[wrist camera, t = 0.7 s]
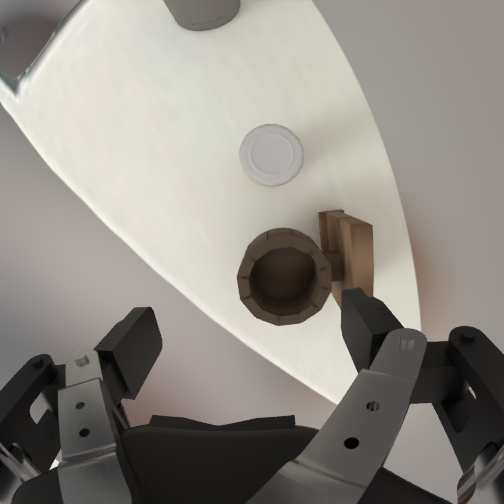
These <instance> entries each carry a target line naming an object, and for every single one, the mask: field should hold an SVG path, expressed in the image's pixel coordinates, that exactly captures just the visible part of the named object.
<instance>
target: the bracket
mask: <svg viewBox="0 0 504 504" xmlns="http://www.w3.org/2000/svg"><path fill="white" fill-rule="evenodd" d="M318 213H319V224H320V235H321V248H322V252H321V250H320V249H319V248H318V246H317V245H316V244H315V242H314V241H313V240H312V239H311V238H310V237H309V236H307V235H305V234H304V233H302V232H300V231H298V230H295V229H291V228H275V229H271V230H268V231H266V232H264V233H262V234H260V235H259V236H258V237H256V238H255V239H254V240H253V241H252V242H251V243H250V244H249V246H248V248H247V250H246V252H245V255H244V258H243V260H242V262H241V265H240V268H239V271H238V274H237V282H238V288H239V295H240V299H241V301H242V302H243V304H244V305H245V306H246V307H247V308H248V310H249V311H250V312H251V313H252V314H253V315H254V317H256V318H258V319H260V320H263V321H266V322H268V323H271V324H274V325H276V326H277V325H278V326H281V325H290V324H299V323H302V322H304V321H305V320H307V319H308V318H310V317H311V316H313V315H314V314H316V313H317V312H319V311H320V309H322V307H323V305H324V304H325V302H326V300H327V298H328V296H329V294H330V292H331V293H332V295H333V297H334V298H335V300H336V302H337V304H338V306H339V307H340V309H341V293H342V290H344V289H351V288H358V287H360V288H361V289H362V290H363V291H364V293H365V294H366V295H367V296H368V298H369V297H373V283H374V260H373V228H372V225H371V224H369V223H366V222H364V221H361V220H359V219H357V218H354V217H352V216H349V215H347V214H344V210H336V211H326V212H318Z"/></svg>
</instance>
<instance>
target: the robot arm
mask: <svg viewBox="0 0 504 504" xmlns="http://www.w3.org/2000/svg"><path fill="white" fill-rule="evenodd" d="M163 1H164V3H165V4H166V6H167V7H168V9H169V11H170V12H171V14H172V15H173V17H174V19H175V20H176V22H177V23H178V24H179V25H180V26H182V27H183V28H186V29H188V30H194V31H203V30H210V29H213V28H217V27H219V26H221V25H224V24H225V23H227V22H229V21H230V20H231V19H232V18H233V17H234V16H235V15H236V14H237V12H238V10H239V7H240V1H239V0H163ZM341 331H342V336H343V339H344V341H345V343H346V346H347V348H348V350H349V353H350V355H351V357H352V360H353V362H354V365H355V367H356V369H357V372H358V375H357V377H356V379H355V380H354V382H353V383H352V385H351V386H350V388H349V389H348V391H347V393H346V394H345V396H344V397H343V399H342V400H341V401H340V403H339V404H338V406H337V407H336V409H335V410H334V412H333V413H332V415H331V416H330V417H329V418H328V420H327V421H326V423H325V424H324V425H323V427H322V428H321V429H320V430H319V429H315V428H311V427H306V426H298V425H295V416H294V415H291V416H280V417H266V418H255V419H250V420H246V421H242V422H236V423H232V424H226V425H220V426H217V425H212V424H207V423H203V422H198V421H195V420H191V419H187V418H183V417H182V418H181V417H170V416H158V415H152V418H151V420H150V422H149V424H146V425H141V426H136V427H131V425H130V422H129V420H128V417H127V414H126V412H125V409H124V406H123V405H122V403H121V400H122V398H125V399H132V400H135V398H136V396H137V394H138V392H139V391H140V389H141V387H142V385H143V383H144V381H145V380H146V378H147V376H148V374H149V372H150V370H151V369H152V367H153V365H154V363H155V361H156V360H157V358H158V356H159V354H160V352H161V350H162V337H161V334H160V331H159V328H158V324H157V321H156V318H155V314H154V311H153V309H152V308H151V307H135V308H133V309H132V310H131V312H130V313H129V314H128V315H127V316H126V317H125V318H124V319H123V320H122V321H120V322H119V323H117V324H116V325H115V326H114V327H113V328H112V329H111V331H109V333H108V334H107V336H105V337H104V338H103V339H102V340H101V342H99V344H98V345H97V346H96V347H95V348H94V349H93V350H92V349H85V350H80V351H78V352H76V353H74V354H72V355H71V356H70V357H69V358H68V359H67V361H66V364H63V365H55V364H54V362H53V360H52V358H51V356H50V355H47V354H41V355H38V356H35V357H33V358H31V359H30V360H29V361H28V362H27V363H26V364H25V365H24V366H23V367H22V368H21V369H20V370H19V371H18V372H17V373H16V374H15V375H14V377H13V378H12V379H11V380H10V381H9V382H8V383H7V384H6V385H5V386H4V387H3V389H2V390H1V391H0V504H452V503H451V502H449V501H447V500H444V499H443V498H441V497H438V496H436V495H434V494H432V493H430V492H428V491H426V490H424V489H422V488H420V487H418V486H416V485H414V484H412V483H411V482H409V481H407V480H405V479H403V478H401V477H400V476H398V475H396V474H394V473H392V472H391V471H389V470H387V469H386V468H384V467H383V466H384V464H385V462H386V460H387V457H388V455H389V453H390V451H391V449H392V447H393V445H394V442H395V440H396V438H397V436H398V433H399V431H400V429H401V426H402V424H403V421H404V419H405V416H406V414H407V411H408V408H409V406H410V404H417V403H432V405H433V407H434V409H435V411H436V413H437V415H438V417H439V419H440V421H441V423H442V425H443V427H444V430H445V432H446V434H447V436H448V438H449V441H450V443H451V445H452V447H453V449H454V452H455V454H456V456H457V459H458V461H459V464H460V466H461V469H462V471H463V475H462V477H461V478H460V480H459V482H458V485H457V496H458V498H457V500H458V503H457V504H504V354H503V353H502V352H501V351H500V350H499V349H498V348H497V347H496V346H495V345H494V344H493V343H492V342H491V341H490V340H489V339H488V338H487V336H486V335H485V334H483V332H481V331H480V330H479V329H476V328H473V327H470V326H460V327H456V328H454V329H453V330H452V331H451V332H450V334H449V338H448V341H439V342H427V338H426V337H425V335H424V334H423V333H421V332H420V331H418V330H415V329H410V328H404V327H403V326H402V324H401V323H400V322H399V321H398V320H397V318H396V317H395V316H394V315H393V314H392V312H391V311H390V310H389V309H388V307H387V306H386V305H385V304H384V303H383V301H381V300H379V299H377V298H375V297H369V298H368V296H367V295H366V294H365V293H364V291H363V290H362V289H361V288H360V287H358V288H351V289H344V290H342V293H341ZM469 386H470V387H471V388H472V390H473V391H474V393H475V396H476V399H475V398H474V396H473V395H472V393H471V392H470V390H469ZM39 394H40V396H41V398H42V399H43V401H44V402H45V404H46V405H47V407H48V409H47V410H46V412H45V413H44V415H43V416H42V418H41V419H40V420H39V422H38V424H36V423H35V422H34V420H33V419H32V417H31V415H30V406H31V405H32V403H33V402H34V401H35V399H36V398H37V397H38V396H39ZM60 449H61V450H62V462H60V463H59V464H58V466H57V467H55V468H53V469H51V470H49V469H50V467H51V465H52V463H53V462H54V460H55V458H56V456H57V454H58V452H59V451H60Z"/></svg>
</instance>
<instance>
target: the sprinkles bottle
mask: <svg viewBox="0 0 504 504" xmlns="http://www.w3.org/2000/svg"><path fill="white" fill-rule="evenodd" d="M303 158H304V153H303V147H302V144H301V142H300V140H299V139H298V137H297V136H296V135H295V134H294V133H293V132H292V131H291V130H289V129H288V128H286V127H284V126H281V125H277V124H266V125H262V126H259V127H257V128H255V129H253V130H252V131H250V132H249V133H248V134H247V135H246V137H245V138H244V140H243V142H242V144H241V147H240V162H241V165H242V168H243V170H244V171H245V173H246V174H247V175H248V176H249V177H250V178H251V179H252V180H253V181H255V182H256V183H259V184H261V185H265V186H279V185H282V184H285V183H287V182H289V181H290V180H292V179H293V178H294V177H295V176H296V175H297V174H298V172H299V171H300V169H301V167H302V164H303Z"/></svg>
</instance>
